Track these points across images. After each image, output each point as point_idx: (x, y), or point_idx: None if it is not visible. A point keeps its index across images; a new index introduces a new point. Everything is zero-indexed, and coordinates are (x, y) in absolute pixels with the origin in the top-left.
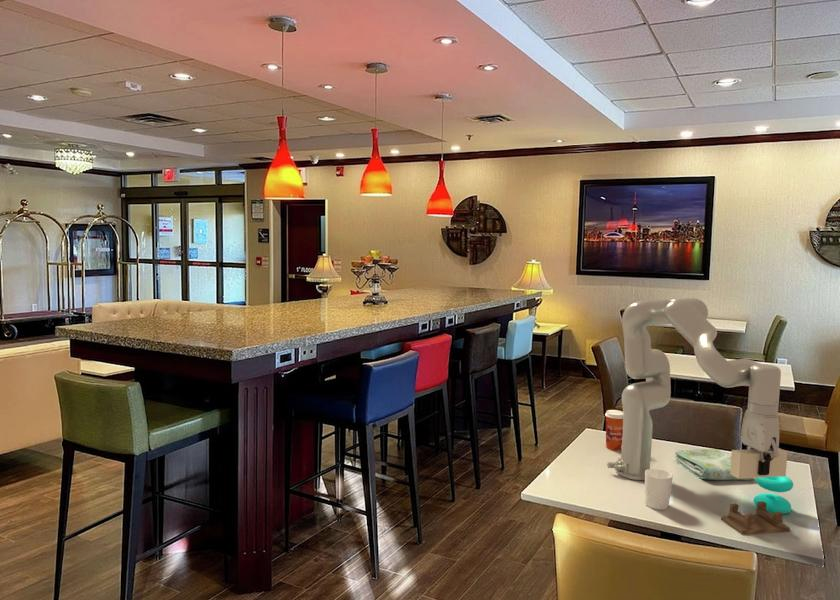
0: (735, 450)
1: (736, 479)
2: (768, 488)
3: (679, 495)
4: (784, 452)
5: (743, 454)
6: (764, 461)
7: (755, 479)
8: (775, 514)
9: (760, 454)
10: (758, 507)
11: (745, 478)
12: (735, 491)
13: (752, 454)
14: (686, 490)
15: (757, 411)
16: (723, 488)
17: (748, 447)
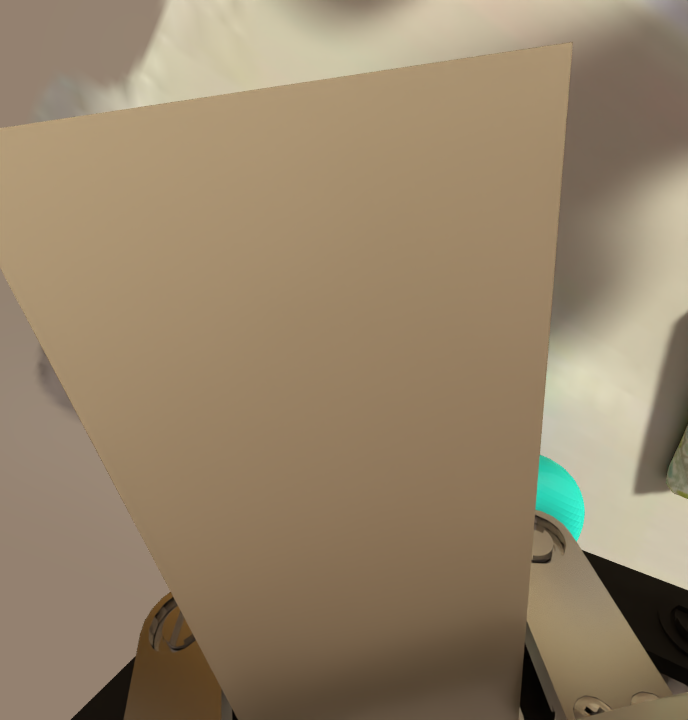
0: (506, 214)
1: (686, 428)
2: None
3: (645, 68)
4: None
5: (43, 322)
6: (161, 624)
7: (544, 457)
8: None
9: (217, 713)
10: None
11: (675, 459)
12: (604, 379)
13: (184, 586)
14: (681, 150)
15: None
16: (641, 345)
17: (611, 646)
